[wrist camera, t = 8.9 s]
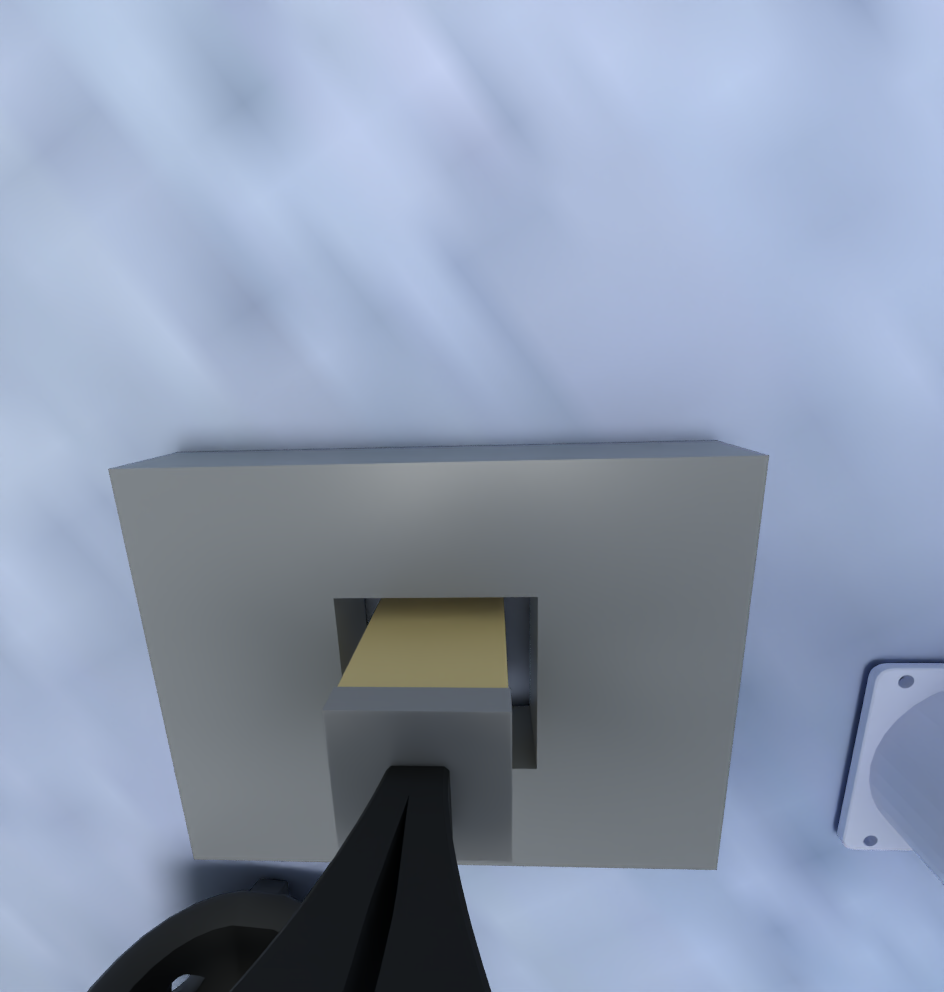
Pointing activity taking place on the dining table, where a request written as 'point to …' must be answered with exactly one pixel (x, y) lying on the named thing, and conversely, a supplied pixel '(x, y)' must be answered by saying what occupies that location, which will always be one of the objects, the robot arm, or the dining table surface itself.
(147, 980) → the muzzle brake
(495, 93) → the dining table surface
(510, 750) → the plug
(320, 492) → the socket plate
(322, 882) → the robot arm
